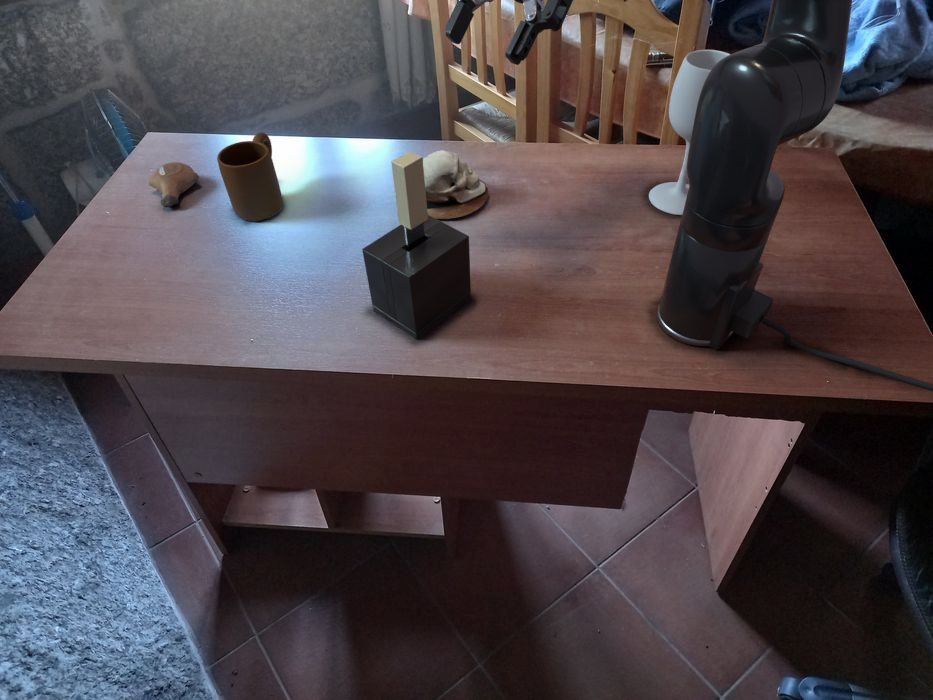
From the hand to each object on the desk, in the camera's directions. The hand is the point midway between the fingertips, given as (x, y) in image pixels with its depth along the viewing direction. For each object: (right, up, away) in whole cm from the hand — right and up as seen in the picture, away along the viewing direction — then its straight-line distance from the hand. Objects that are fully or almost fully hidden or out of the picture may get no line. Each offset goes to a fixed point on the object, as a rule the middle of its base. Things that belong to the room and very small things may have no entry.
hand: (480, 50), depth 70 cm
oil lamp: (-48, -7, +35) cm, 60 cm away
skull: (-4, -9, +31) cm, 33 cm away
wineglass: (+31, -9, +29) cm, 43 cm away
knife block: (-7, -26, +15) cm, 31 cm away
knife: (-7, -26, +14) cm, 30 cm away
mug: (-33, -9, +33) cm, 47 cm away
